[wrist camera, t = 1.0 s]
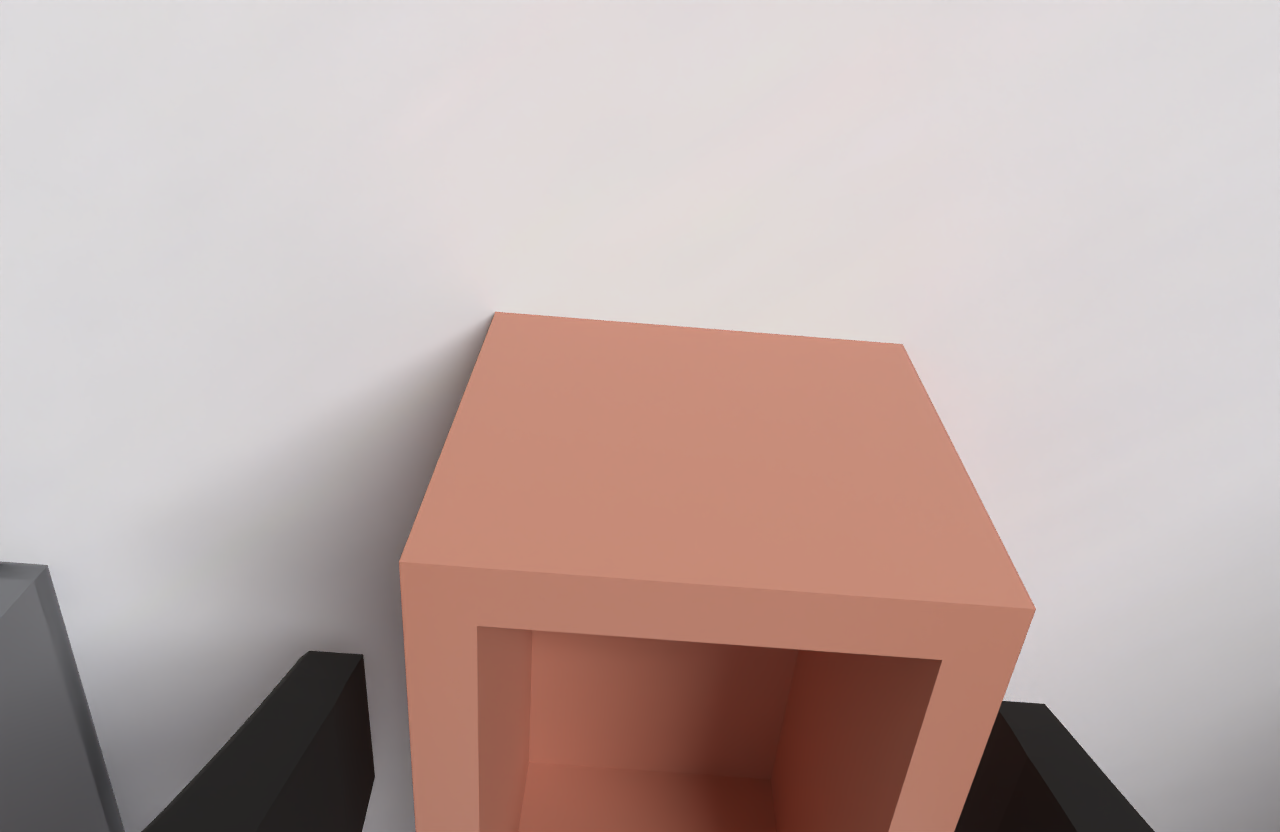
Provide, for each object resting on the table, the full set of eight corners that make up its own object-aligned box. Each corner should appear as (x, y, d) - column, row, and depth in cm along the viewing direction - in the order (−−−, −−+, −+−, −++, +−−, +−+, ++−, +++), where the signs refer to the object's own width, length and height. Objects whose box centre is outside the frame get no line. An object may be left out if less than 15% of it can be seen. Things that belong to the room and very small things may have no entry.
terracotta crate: (798, 776, 16) (848, 1118, 11) (496, 755, 16) (431, 1091, 11) (899, 338, 12) (1035, 609, 8) (497, 307, 12) (398, 561, 7)
